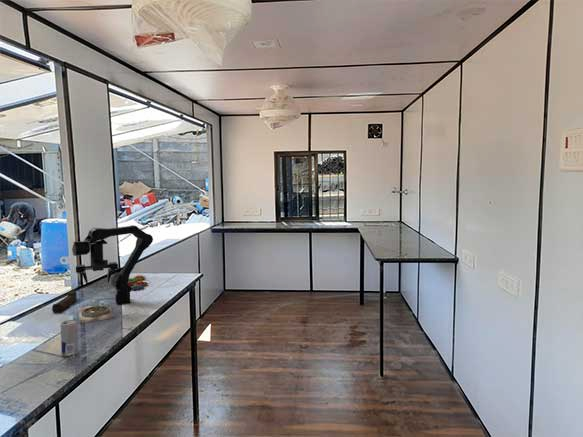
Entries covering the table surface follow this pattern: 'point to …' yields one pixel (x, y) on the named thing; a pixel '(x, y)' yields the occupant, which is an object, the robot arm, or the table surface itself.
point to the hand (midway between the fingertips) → (97, 284)
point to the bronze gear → (95, 307)
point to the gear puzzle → (137, 283)
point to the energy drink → (69, 337)
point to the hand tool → (65, 302)
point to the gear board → (95, 316)
